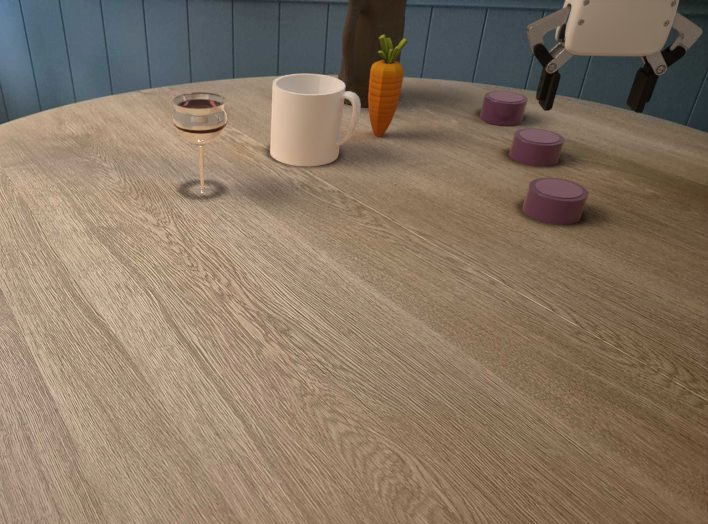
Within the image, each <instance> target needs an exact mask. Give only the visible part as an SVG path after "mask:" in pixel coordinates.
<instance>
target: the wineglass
mask: <svg viewBox="0 0 708 524" xmlns="http://www.w3.org/2000/svg"><path fill="white" fill-rule="evenodd" d="M171 102H172V105H173V106H174V110H173V111H172V116H171V118H172V124H173V126H174V129H175V131H176V133H178V134H179V135H180V136H181V138H183V139H184V140H185V141H186V142H188V143H192V144H193V145H194V146H195V147H196V148H197V154H198V167H199V179H200V186H197V187H195V188H194V192H196V193H197V194H207V193H209V192H210V191H211V188H210V187H209V186H205V148H206V147H207V146H208V143H211V142H214V141H216V140H218V138H219V137H220V136H221V135H222V134H223V133H224V131H225V130H226V128H227V125H228V122H229V121H228V118H229V116H228V112H227V110H226V108H225V107H226V104H227V102H228V99H227V97H226V96H224V95H223V94H219V93H216V92H210V91H191V92H185V93H181V94H178V95H176V96H174V97H173V98H172V99H171Z"/></svg>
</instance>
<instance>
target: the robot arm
mask: <svg viewBox="0 0 708 524" xmlns="http://www.w3.org/2000/svg"><path fill="white" fill-rule="evenodd" d="M679 3H680V0H564V3H563V5H562V6H563V7H562V8H560V9H558V10H556V11H554V12H552V13H550V14H548V15H546V16H544V17H541V18H539V19H537V20H535V21H533V22H531V23H529V24H527V26H526V28H525V31H526V35H527V39H528V43H529V46H530V51H531V53H532V54H533V56H534V57H535V59H536V60H537V62H538V63H539V64H540V66H541V67H542V69H541V72H540V77H539V80H538V85H537V88H536V92H535V100H536V101H538V104H539V106H540V107H541V109H542V110H543V111H545V112H550V110H552V109H553V106H554V103H555V99H556V95H557V92H558V89H559V84H560V82H561V81H560V80H561V73H560V72H559V69H560V68H562V66H564V65H565V64H566V63H567V62H568V61H569V60H571V58H573V57H574V56H575V55H576V56H585V57H586V56H588V57H591V56H592V57H640V58H641V60H642V63H643V67H641V66H640V67H638V69H637V71H636V73H635V75H634V79H633V82H632V84H631V88H630V90H629V93H628V96H627V99H626V105H627V106H628V107H629V108H630V109H631V110H632V111H633V112H635V113H636V114H642V113H643V112H644V109H645V107H646V104H648V103H650V101H651V99H652V96H653V93H654V91H655V89H656V85H657V82H658V80H659V77H660V76H662V75H664V74H665V73H666V72H667V70H668V68H669V67H671V66H672V65H674V64H675V63H676V62H678V61H679V60H681V59H682V58H683V57H684V56H685V55H686V52H687V51H688V49H690V48H691V47H692V46H693V45H694V44H695V43H696V42H697V41H698V40H699V38H700V37H701V36H702V35H703V28H701V27H700V26H698V25H697V24H696V23H694V22H693V21H691V20H690V19H688V18H687V17H685V15H682V14H681V13H680V12H678V6H679ZM672 28H673V29H674V30H676V31H677V32H678V37H677V38H676V39H675V41H674V42H673V43H671V44H669V45H668V46H667V47H666V48H664V46H665V44H666V43H667V40H668V38H669V35H670V32H671V29H672ZM555 29H556V30H555ZM552 30H555V35H554V36H555V41H556V44H555V45H554V46H553V47H552V48H550V49H549V50H548V48H547V47H546V46H545V39H544V36H545V35H546V34H547V33H549V32H550V31H552ZM663 48H664V49H663ZM662 49H663V50H662Z"/></svg>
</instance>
